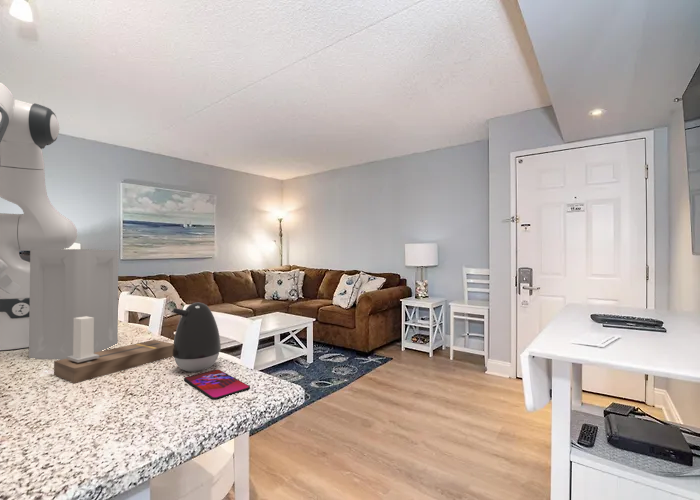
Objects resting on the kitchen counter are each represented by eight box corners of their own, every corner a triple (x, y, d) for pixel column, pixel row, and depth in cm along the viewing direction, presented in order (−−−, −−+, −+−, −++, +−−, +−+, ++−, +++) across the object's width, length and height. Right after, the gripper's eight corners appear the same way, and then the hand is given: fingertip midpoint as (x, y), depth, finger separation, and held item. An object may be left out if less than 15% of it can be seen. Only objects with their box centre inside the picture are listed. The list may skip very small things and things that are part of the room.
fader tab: (77, 362, 72) (78, 320, 72) (67, 359, 74) (67, 318, 75) (99, 357, 75) (99, 317, 76) (88, 354, 78) (89, 315, 78)
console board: (74, 383, 69) (74, 368, 69) (53, 374, 74) (54, 361, 74) (176, 355, 88) (176, 344, 88) (154, 350, 93) (154, 339, 93)
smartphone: (212, 398, 60) (182, 377, 71) (212, 403, 60) (182, 381, 71) (252, 386, 66) (218, 368, 76) (252, 391, 66) (218, 372, 76)
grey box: (29, 367, 79) (30, 248, 80) (28, 355, 90) (30, 250, 91) (125, 351, 93) (126, 249, 93) (115, 342, 103) (115, 250, 104)
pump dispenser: (164, 368, 78) (164, 302, 78) (209, 358, 86) (209, 298, 86) (181, 379, 71) (182, 307, 71) (228, 367, 79) (228, 302, 79)
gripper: (-36, 219, 53) (44, 278, 61) (-67, 227, 63) (4, 277, 71) (-82, 247, 49) (9, 306, 57) (-107, 251, 59) (-27, 301, 67)
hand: (6, 290), depth 64 cm, fingers open, 8 cm apart
